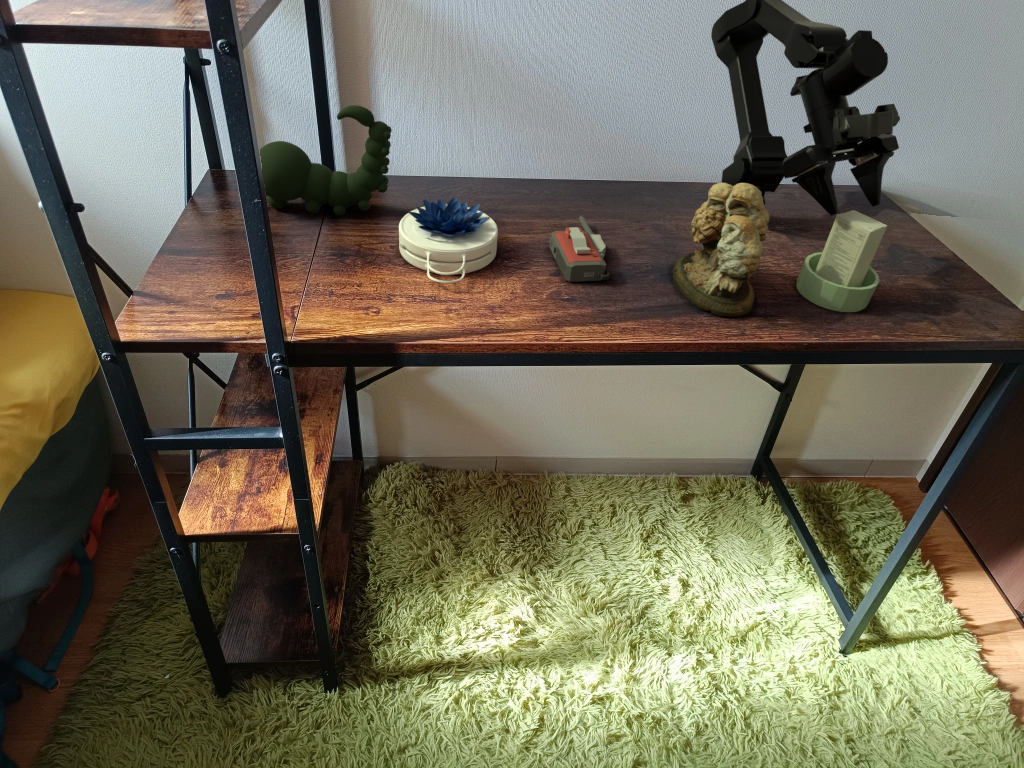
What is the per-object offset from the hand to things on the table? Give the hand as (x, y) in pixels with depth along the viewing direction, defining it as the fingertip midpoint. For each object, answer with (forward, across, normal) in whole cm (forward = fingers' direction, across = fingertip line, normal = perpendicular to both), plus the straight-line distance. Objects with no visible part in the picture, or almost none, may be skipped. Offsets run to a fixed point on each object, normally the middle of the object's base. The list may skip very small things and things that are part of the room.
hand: (855, 210), depth 104 cm
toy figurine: (-27, -67, +47) cm, 86 cm away
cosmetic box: (+11, 0, +8) cm, 13 cm away
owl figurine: (+5, -18, +14) cm, 24 cm away
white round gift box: (-11, -53, +31) cm, 63 cm away
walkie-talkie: (-7, -33, +26) cm, 43 cm away
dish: (+11, 0, +8) cm, 14 cm away
